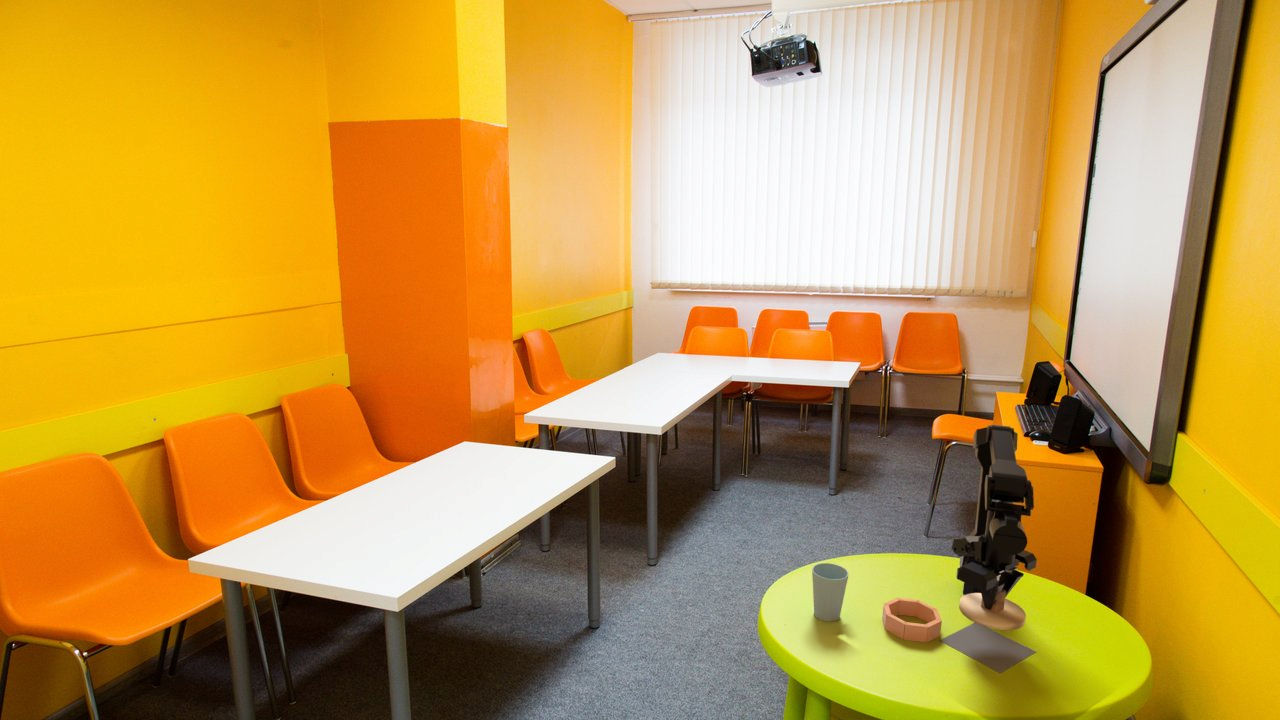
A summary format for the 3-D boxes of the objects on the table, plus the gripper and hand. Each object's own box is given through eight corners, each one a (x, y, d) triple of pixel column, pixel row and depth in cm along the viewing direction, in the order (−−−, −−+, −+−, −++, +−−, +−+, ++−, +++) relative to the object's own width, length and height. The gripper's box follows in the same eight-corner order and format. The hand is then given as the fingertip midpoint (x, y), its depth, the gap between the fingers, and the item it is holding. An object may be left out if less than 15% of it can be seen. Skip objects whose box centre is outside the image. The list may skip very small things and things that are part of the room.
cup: (852, 620, 161) (856, 575, 159) (823, 627, 158) (827, 582, 156) (830, 603, 168) (833, 560, 166) (802, 610, 165) (805, 566, 163)
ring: (904, 612, 164) (906, 593, 164) (948, 635, 156) (951, 616, 155) (871, 626, 158) (873, 607, 158) (916, 652, 150) (918, 631, 149)
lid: (980, 592, 157) (983, 570, 156) (1037, 618, 147) (1040, 594, 146) (946, 608, 150) (949, 584, 149) (1003, 636, 140) (1006, 611, 139)
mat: (975, 627, 159) (976, 621, 159) (1035, 657, 149) (1036, 651, 148) (938, 645, 152) (939, 640, 152) (999, 678, 141) (1000, 673, 141)
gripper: (989, 509, 157) (981, 578, 160) (936, 529, 147) (928, 601, 150) (1042, 528, 148) (1032, 600, 151) (989, 550, 138) (980, 627, 141)
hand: (992, 606), depth 148 cm, fingers closed on lid, 3 cm apart
